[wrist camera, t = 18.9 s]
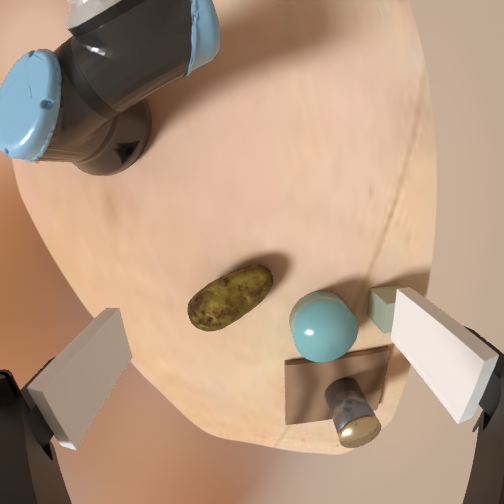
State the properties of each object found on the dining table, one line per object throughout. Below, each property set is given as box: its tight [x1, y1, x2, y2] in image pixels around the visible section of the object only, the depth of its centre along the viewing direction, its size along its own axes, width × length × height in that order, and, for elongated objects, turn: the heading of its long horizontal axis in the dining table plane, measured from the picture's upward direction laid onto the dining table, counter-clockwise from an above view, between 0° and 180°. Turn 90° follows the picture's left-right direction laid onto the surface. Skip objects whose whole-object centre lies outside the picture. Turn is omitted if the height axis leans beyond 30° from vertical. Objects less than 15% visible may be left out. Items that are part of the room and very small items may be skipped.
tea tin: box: [325, 378, 381, 448], centre depth 43 cm, size 7×7×12 cm
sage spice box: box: [368, 285, 403, 333], centre depth 43 cm, size 6×5×7 cm
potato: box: [188, 265, 273, 331], centre depth 42 cm, size 8×13×8 cm, turn 99°
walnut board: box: [285, 347, 390, 425], centre depth 50 cm, size 20×16×2 cm
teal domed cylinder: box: [290, 291, 358, 362], centre depth 44 cm, size 10×10×6 cm
